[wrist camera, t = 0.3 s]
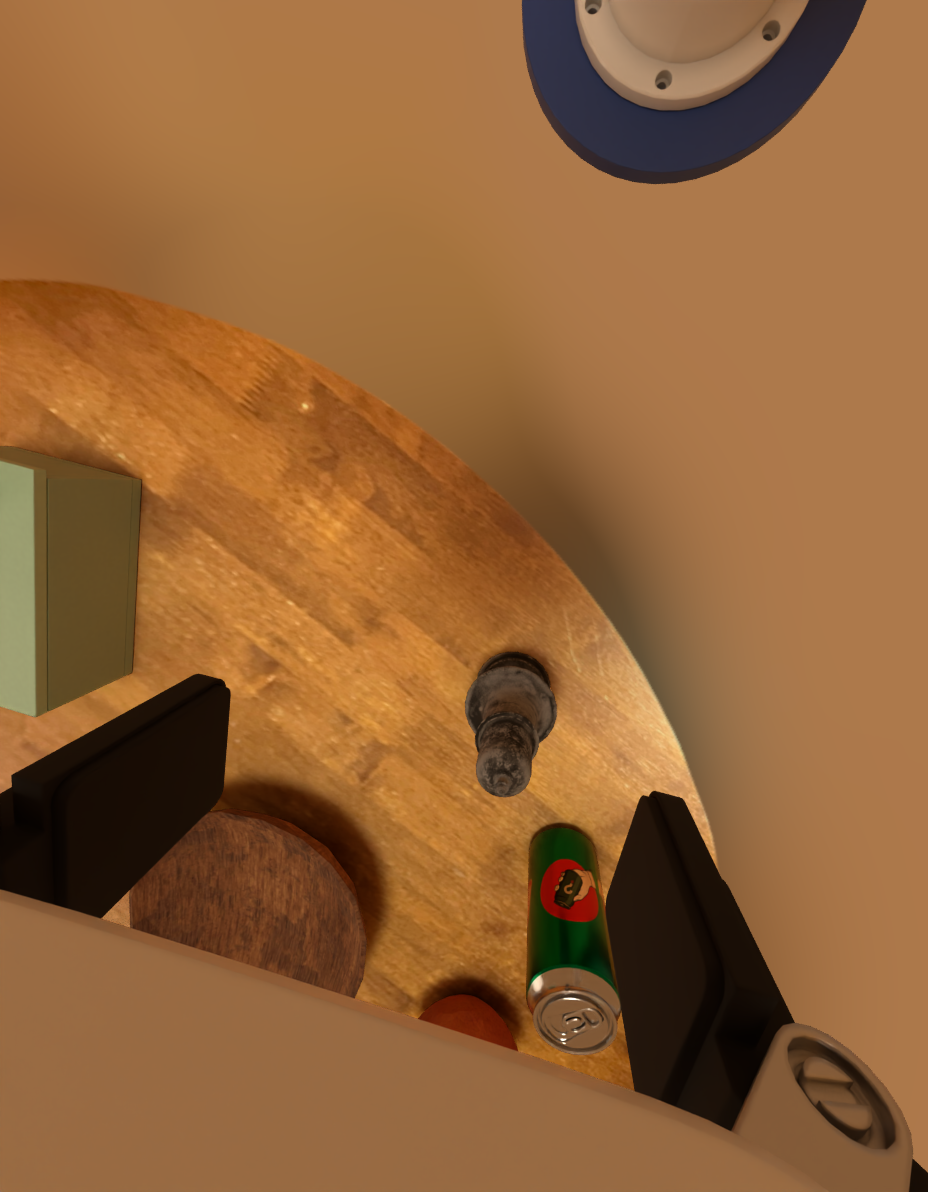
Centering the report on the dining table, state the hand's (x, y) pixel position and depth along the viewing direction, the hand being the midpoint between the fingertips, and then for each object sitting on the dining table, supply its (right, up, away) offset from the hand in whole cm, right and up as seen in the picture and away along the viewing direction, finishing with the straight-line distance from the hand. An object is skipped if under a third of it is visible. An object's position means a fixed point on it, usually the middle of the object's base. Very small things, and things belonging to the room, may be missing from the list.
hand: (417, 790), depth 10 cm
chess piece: (+5, -2, +23) cm, 24 cm away
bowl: (-15, -21, +31) cm, 40 cm away
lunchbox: (-29, +7, +26) cm, 40 cm away
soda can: (+9, -15, +26) cm, 31 cm away
